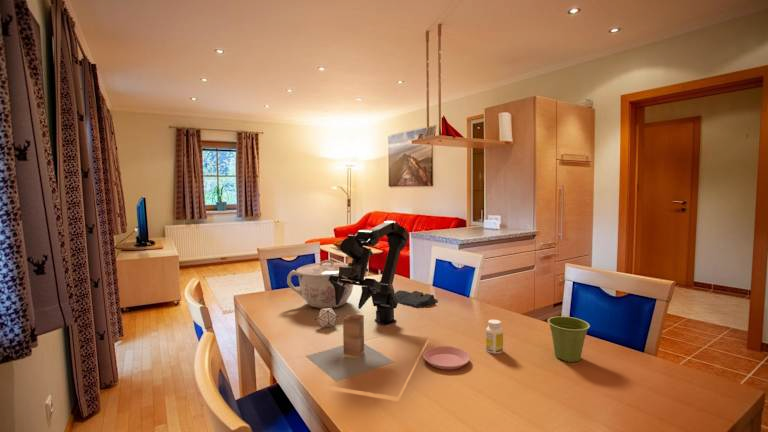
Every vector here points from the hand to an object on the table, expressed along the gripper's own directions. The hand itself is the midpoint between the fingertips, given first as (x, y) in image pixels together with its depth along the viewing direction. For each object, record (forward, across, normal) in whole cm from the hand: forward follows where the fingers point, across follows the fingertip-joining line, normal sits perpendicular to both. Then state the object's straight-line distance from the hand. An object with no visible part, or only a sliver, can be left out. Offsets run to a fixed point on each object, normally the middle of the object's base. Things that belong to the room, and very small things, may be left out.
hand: (347, 306), depth 132 cm
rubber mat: (+17, +8, -2) cm, 18 cm away
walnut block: (+14, +7, 0) cm, 16 cm away
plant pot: (0, +66, +28) cm, 72 cm away
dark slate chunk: (-16, -3, +56) cm, 58 cm away
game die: (+7, -16, +15) cm, 23 cm away
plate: (+10, +34, +10) cm, 37 cm away
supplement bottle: (+2, +45, +23) cm, 51 cm away
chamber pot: (-5, -35, +36) cm, 50 cm away
